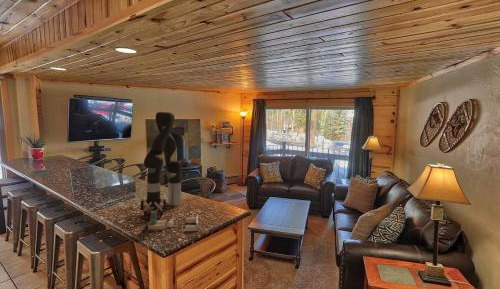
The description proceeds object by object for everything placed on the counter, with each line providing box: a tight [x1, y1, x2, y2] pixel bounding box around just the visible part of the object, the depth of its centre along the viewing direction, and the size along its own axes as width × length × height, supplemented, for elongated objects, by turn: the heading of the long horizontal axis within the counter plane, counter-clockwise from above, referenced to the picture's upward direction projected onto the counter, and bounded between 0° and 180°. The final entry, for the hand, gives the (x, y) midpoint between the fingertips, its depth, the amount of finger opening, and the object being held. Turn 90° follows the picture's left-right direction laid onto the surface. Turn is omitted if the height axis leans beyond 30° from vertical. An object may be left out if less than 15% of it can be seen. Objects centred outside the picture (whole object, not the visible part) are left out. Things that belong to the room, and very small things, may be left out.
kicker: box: [147, 211, 167, 230], centre depth 158 cm, size 8×9×9 cm
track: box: [143, 220, 181, 232], centre depth 159 cm, size 9×20×2 cm, turn 100°
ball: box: [166, 220, 175, 228], centre depth 160 cm, size 4×4×4 cm
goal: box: [185, 214, 199, 232], centre depth 162 cm, size 13×7×4 cm, turn 10°
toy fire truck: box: [142, 204, 162, 222], centre depth 171 cm, size 7×12×10 cm, turn 139°
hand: (153, 216), depth 157 cm, fingers open, 8 cm apart
